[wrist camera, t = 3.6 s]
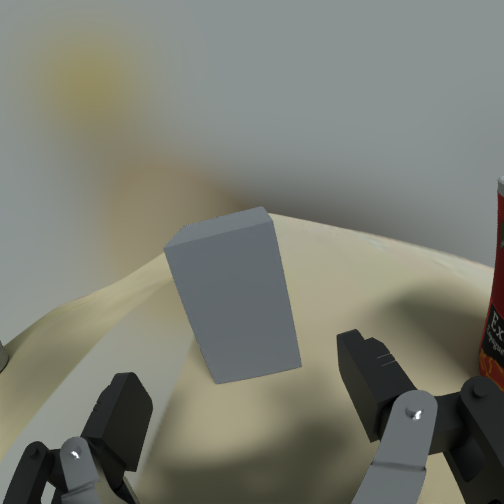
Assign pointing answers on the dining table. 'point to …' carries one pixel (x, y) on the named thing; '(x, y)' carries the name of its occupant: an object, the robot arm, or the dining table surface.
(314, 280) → the dining table surface
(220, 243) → the tall grey pillar block
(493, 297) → the canned food
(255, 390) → the dining table surface
